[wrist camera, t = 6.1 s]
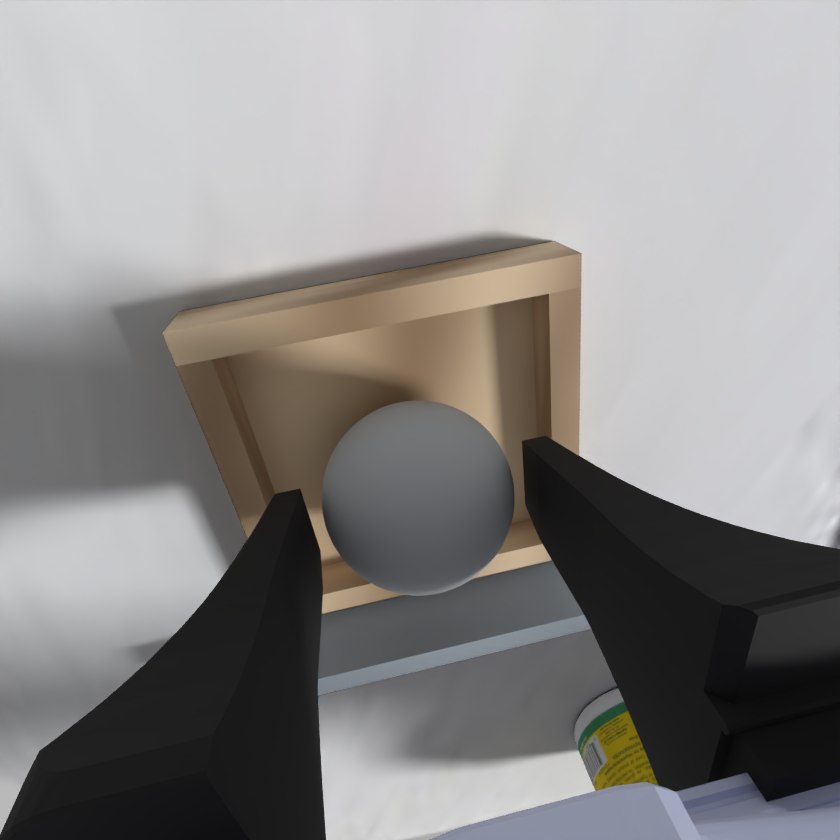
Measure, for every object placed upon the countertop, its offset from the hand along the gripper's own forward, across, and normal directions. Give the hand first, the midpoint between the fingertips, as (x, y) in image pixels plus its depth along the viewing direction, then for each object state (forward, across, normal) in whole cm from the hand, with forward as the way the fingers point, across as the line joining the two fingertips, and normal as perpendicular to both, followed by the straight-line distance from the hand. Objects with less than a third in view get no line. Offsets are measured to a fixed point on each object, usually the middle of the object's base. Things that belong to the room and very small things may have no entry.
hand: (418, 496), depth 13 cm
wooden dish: (+3, 0, 0) cm, 3 cm away
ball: (+3, 0, 0) cm, 3 cm away
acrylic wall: (+3, 0, +7) cm, 8 cm away
